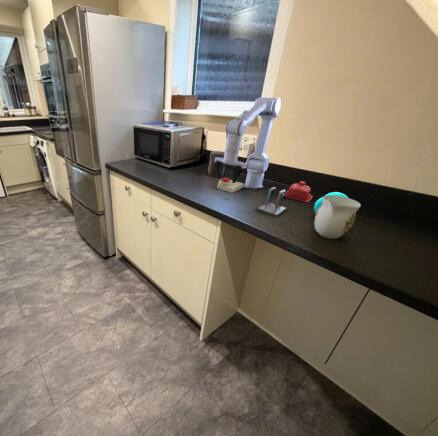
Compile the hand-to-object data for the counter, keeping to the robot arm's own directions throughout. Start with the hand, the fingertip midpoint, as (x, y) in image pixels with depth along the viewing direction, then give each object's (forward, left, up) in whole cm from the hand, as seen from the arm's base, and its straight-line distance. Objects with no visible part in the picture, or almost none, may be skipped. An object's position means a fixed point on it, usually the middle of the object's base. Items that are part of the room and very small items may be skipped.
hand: (226, 180), depth 107 cm
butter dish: (-31, +22, -10) cm, 39 cm away
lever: (-10, +20, -5) cm, 23 cm away
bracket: (-7, +20, -10) cm, 23 cm away
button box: (-18, -7, -10) cm, 22 cm away
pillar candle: (-32, -26, -10) cm, 42 cm away
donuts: (-19, +38, -10) cm, 44 cm away
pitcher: (-4, +42, -10) cm, 43 cm away
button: (-15, -9, -7) cm, 19 cm away
